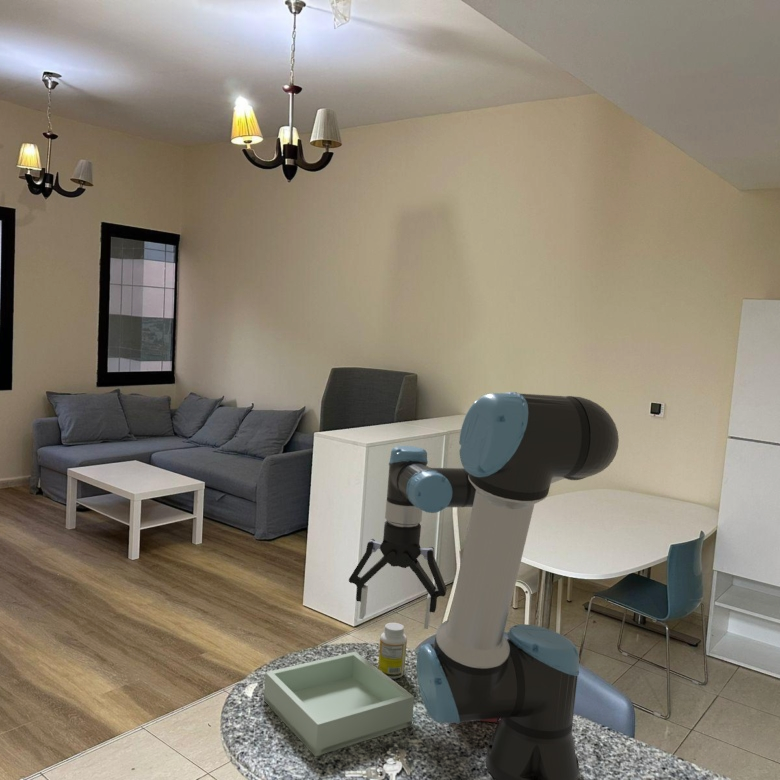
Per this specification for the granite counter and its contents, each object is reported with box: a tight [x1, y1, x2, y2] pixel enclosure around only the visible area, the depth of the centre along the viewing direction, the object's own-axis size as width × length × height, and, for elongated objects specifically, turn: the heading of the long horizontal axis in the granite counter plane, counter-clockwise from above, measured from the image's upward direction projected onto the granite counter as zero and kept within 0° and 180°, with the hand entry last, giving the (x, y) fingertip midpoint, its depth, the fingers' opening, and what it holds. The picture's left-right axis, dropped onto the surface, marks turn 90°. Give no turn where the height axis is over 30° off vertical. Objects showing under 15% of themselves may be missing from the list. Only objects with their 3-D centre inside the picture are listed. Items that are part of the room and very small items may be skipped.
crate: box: [263, 651, 415, 757], centre depth 131 cm, size 20×20×6 cm
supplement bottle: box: [377, 622, 408, 680], centre depth 147 cm, size 6×6×10 cm
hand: (394, 621), depth 147 cm, fingers open, 13 cm apart
